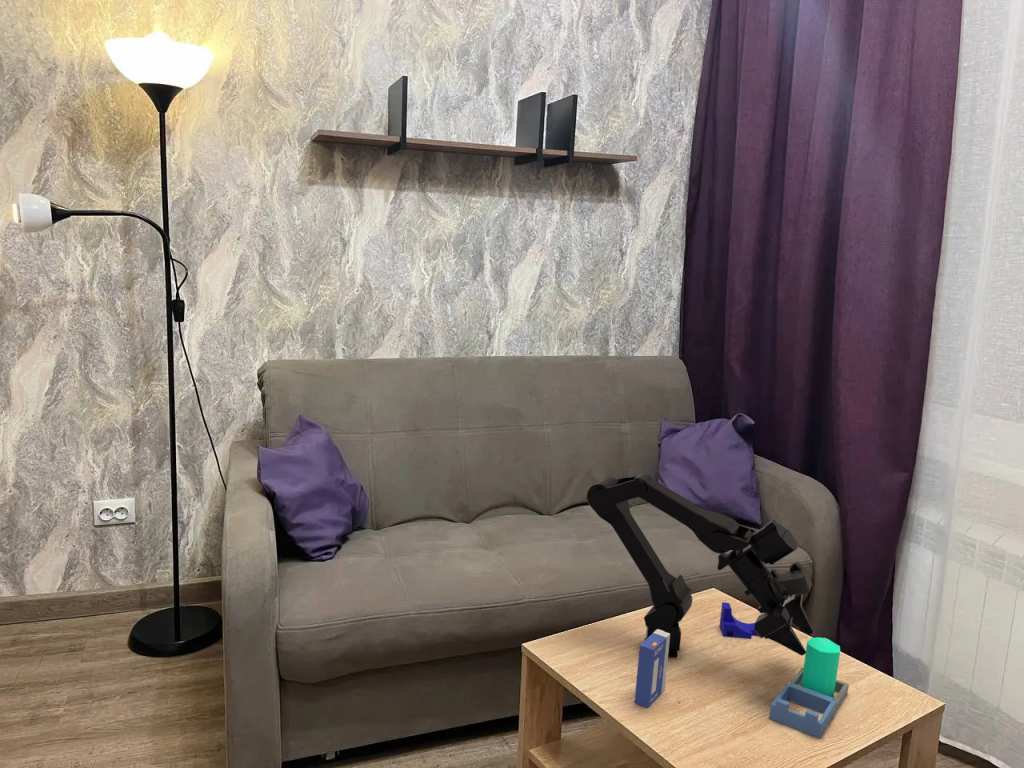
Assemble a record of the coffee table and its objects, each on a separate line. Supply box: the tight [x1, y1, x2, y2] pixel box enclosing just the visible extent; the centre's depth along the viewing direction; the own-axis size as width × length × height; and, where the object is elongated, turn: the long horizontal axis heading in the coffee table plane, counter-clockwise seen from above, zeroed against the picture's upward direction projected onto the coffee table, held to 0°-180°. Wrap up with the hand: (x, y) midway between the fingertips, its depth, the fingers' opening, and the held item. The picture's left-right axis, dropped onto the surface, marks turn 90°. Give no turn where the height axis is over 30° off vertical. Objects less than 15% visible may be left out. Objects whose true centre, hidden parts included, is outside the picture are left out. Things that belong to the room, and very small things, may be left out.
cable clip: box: [719, 601, 759, 640], centre depth 178 cm, size 12×4×6 cm, turn 86°
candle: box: [800, 637, 841, 699], centre depth 155 cm, size 6×6×12 cm
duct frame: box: [768, 667, 850, 739], centre depth 152 cm, size 18×9×4 cm, turn 144°
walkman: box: [634, 629, 670, 709], centre depth 151 cm, size 8×3×12 cm, turn 146°
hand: (807, 643), depth 155 cm, fingers open, 9 cm apart
